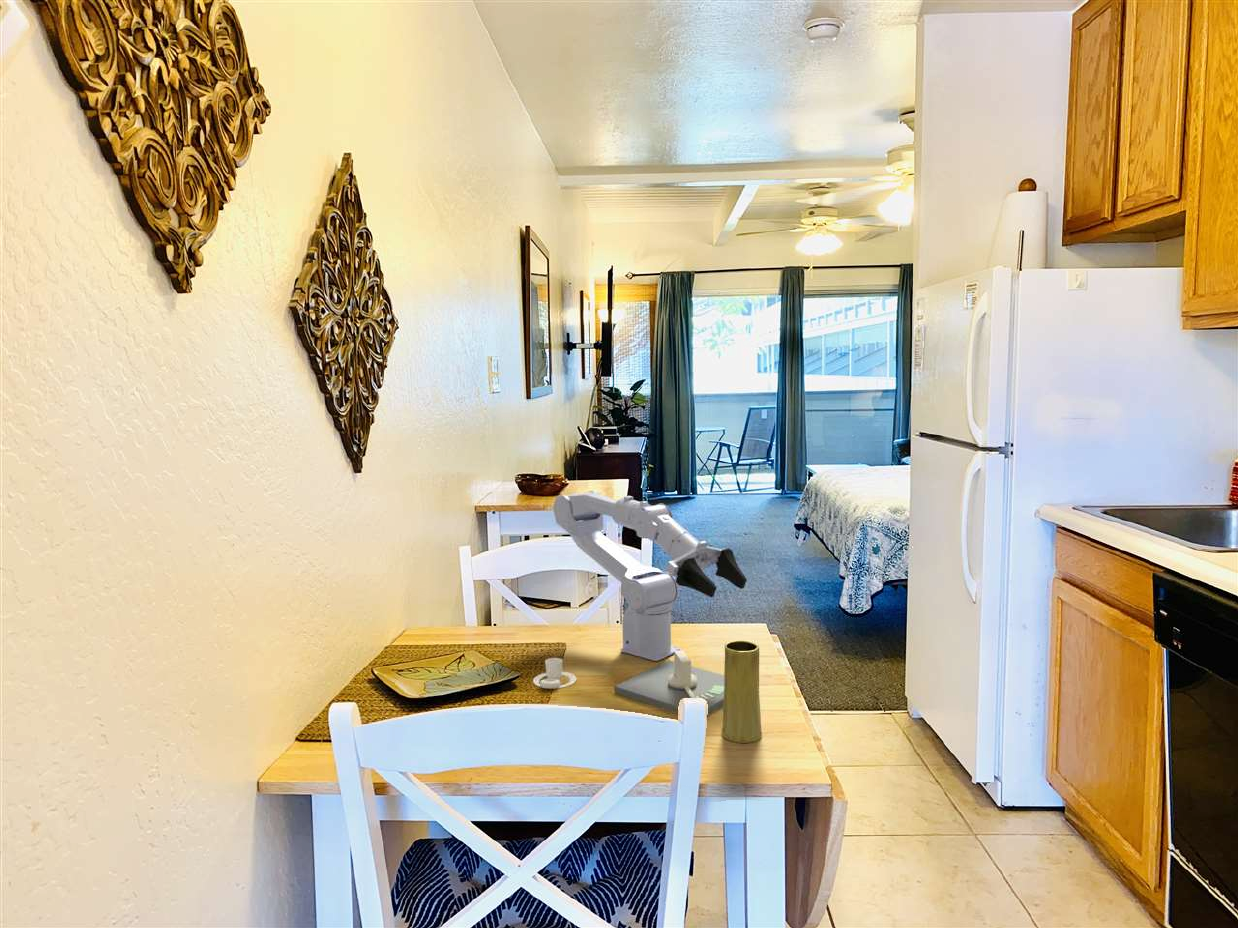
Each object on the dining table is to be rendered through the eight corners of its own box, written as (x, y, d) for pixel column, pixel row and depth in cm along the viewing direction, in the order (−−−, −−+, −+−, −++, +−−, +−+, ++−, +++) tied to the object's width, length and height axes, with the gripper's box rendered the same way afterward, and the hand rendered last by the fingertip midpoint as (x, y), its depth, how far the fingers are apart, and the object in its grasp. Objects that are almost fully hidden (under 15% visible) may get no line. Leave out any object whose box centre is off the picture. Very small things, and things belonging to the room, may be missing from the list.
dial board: (614, 692, 140) (614, 685, 140) (669, 666, 152) (669, 659, 152) (698, 720, 128) (698, 712, 128) (750, 689, 140) (750, 682, 140)
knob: (665, 678, 142) (665, 651, 142) (692, 676, 143) (692, 649, 143) (679, 703, 132) (679, 674, 131) (709, 700, 133) (708, 671, 132)
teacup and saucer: (553, 696, 140) (552, 673, 140) (520, 685, 145) (520, 664, 144) (585, 680, 147) (584, 658, 147) (553, 670, 152) (552, 650, 151)
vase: (752, 747, 119) (752, 655, 117) (715, 737, 122) (714, 648, 121) (767, 731, 124) (768, 643, 122) (731, 722, 127) (731, 636, 126)
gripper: (657, 534, 144) (705, 577, 135) (714, 522, 153) (763, 562, 144) (647, 565, 147) (694, 610, 138) (704, 552, 156) (752, 593, 147)
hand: (729, 588), depth 141 cm, fingers open, 7 cm apart
